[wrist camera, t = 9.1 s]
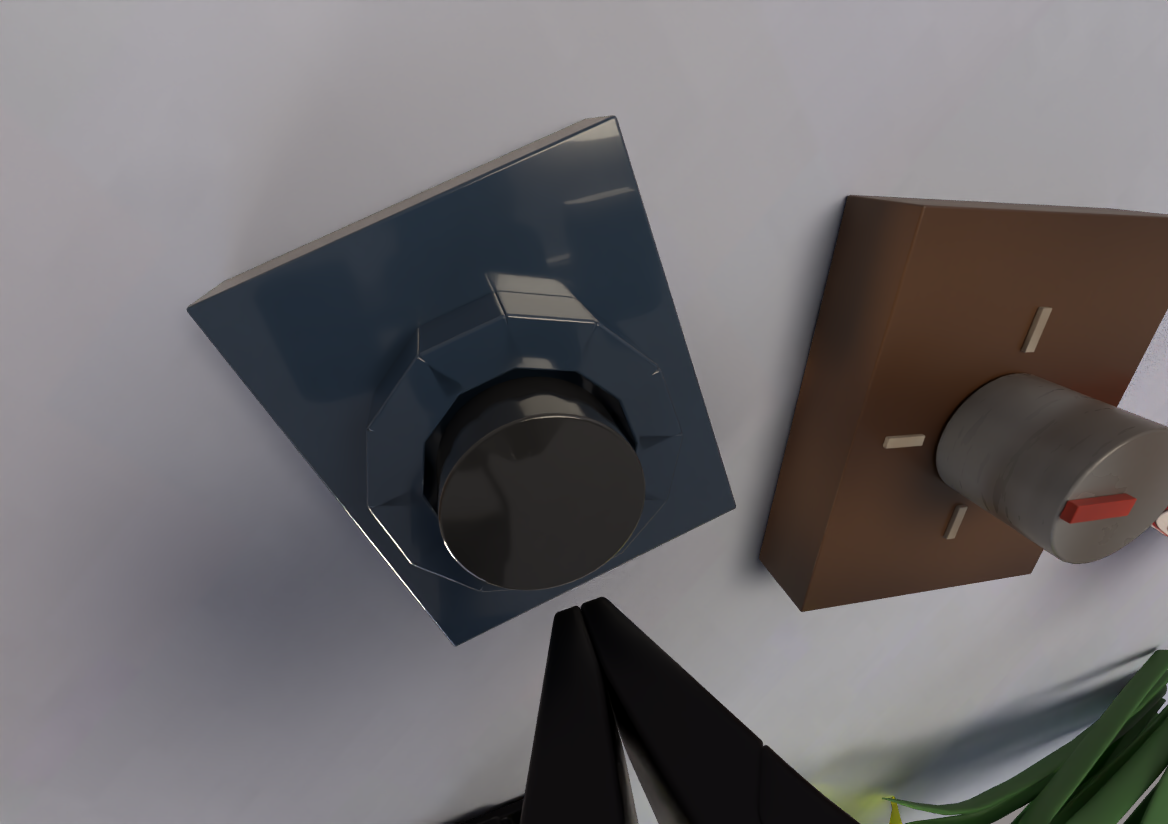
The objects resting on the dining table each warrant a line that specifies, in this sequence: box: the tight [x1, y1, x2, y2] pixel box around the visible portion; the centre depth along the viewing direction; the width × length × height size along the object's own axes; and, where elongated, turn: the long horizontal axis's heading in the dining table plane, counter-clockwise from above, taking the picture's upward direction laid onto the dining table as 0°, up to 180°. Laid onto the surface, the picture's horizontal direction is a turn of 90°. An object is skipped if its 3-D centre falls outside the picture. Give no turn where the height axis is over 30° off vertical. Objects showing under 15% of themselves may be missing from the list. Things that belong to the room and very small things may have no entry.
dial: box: [936, 373, 1168, 564], centre depth 17 cm, size 4×4×4 cm
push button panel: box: [186, 115, 736, 646], centre depth 15 cm, size 12×10×4 cm
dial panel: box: [759, 195, 1168, 612], centre depth 20 cm, size 14×11×3 cm
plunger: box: [436, 376, 645, 590], centre depth 12 cm, size 4×4×2 cm
